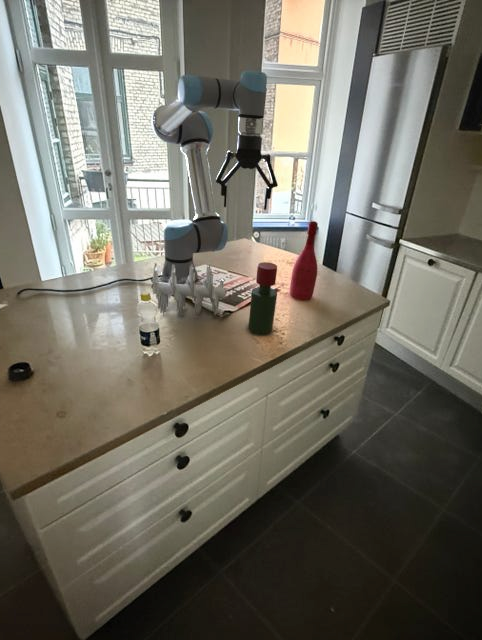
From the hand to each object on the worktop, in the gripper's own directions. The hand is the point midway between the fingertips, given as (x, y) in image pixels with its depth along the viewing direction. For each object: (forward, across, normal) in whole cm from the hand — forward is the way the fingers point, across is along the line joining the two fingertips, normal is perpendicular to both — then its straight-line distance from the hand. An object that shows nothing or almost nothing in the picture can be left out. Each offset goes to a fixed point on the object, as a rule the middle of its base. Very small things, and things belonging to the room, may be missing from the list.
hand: (244, 207), depth 126 cm
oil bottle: (+35, +7, -22) cm, 42 cm away
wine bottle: (+35, +26, +7) cm, 44 cm away
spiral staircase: (+35, -18, -12) cm, 41 cm away
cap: (+17, +7, -22) cm, 29 cm away
